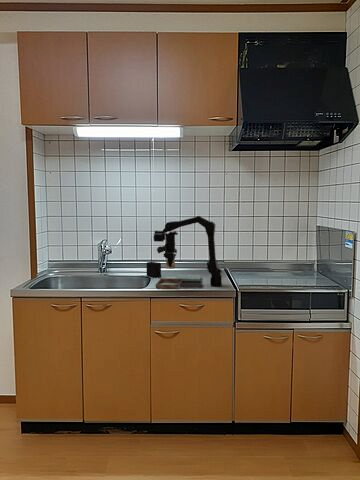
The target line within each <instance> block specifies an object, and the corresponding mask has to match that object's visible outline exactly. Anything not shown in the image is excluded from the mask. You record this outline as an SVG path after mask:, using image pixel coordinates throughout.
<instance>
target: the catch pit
mask: <svg viewBox="0 0 360 480" xmlns="http://www.w3.org/2000/svg"><path fill="white" fill-rule="evenodd" d="M202 287H203V280H201V281H185V280H181V282H180V283H179V288H187V289H188V288H191V289H192V288H193V289H195V288H196V289H197V288H198V289H202Z"/></svg>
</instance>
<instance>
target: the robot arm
mask: <svg viewBox="0 0 360 480" xmlns="http://www.w3.org/2000/svg"><path fill="white" fill-rule="evenodd" d="M193 224H199V225H200V226H202V227H203V228H204V229H205V233H206V235H207V244H208V257H209V258H208V259H209V260H208V261H207V262H206V266H207V268H206V270H207V272H209V274H210V275H211V276H210V283H209V284H210V286H211V287H222V286H223V281H222V280H223V279H222V277H223V276H222V272H223V271H222V270H221V268H219V264H218V261H217V257H216V243H215V242H216V241H215V235H216V234H215V233H216V223H215V222H214V221H212V220H207V219H206V218H204V217H202V216H200V215H197V216H194V217H191V218H186V219H183V220H177V221H176V220H175V221H169V222H165V224H164V228H163V229H162V230H155V231H154V233H153V241H154V242H164V241H165V243H164V245H162V246H157V248H156V251H157V253H158V254H161V253H163V257H164V258H165V259H166V260H168V264H169V267H171V265H172V262H173V260H174V259H175V260H176V256H177V253H178V249H177V248H176V236H178V235H179V233H178V232H177V231H176V230H177V229H179V228H181V227H186V226H189V225H193Z"/></svg>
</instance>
